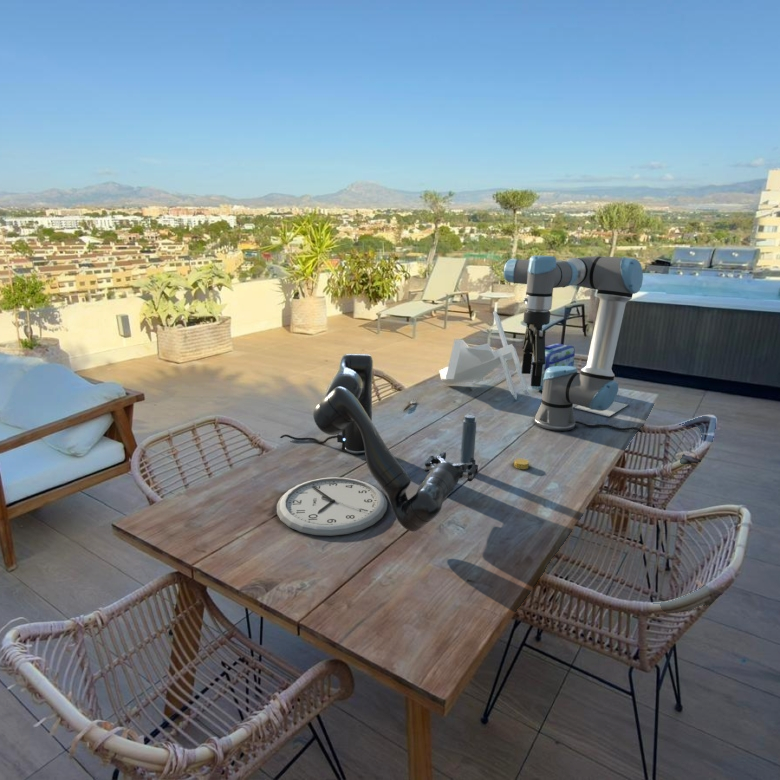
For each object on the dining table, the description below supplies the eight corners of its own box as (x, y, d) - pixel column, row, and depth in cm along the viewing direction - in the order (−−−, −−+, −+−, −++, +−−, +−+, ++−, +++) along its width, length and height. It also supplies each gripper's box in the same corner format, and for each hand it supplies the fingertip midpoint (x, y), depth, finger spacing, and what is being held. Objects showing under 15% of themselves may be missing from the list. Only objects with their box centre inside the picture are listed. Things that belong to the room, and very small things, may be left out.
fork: (400, 411, 216) (400, 406, 215) (412, 399, 230) (412, 395, 230) (406, 412, 215) (406, 407, 215) (418, 400, 230) (418, 396, 229)
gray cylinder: (467, 467, 167) (470, 413, 161) (475, 472, 164) (479, 417, 158) (457, 470, 165) (460, 415, 159) (465, 475, 162) (469, 419, 156)
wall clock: (392, 527, 129) (268, 531, 127) (391, 533, 130) (269, 537, 127) (383, 473, 158) (282, 475, 155) (383, 478, 158) (282, 480, 156)
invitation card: (608, 416, 214) (573, 407, 224) (608, 416, 214) (573, 408, 224) (628, 404, 229) (594, 396, 238) (628, 405, 229) (594, 397, 238)
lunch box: (547, 395, 239) (552, 351, 233) (526, 390, 247) (530, 347, 240) (574, 384, 257) (579, 343, 251) (554, 380, 264) (558, 339, 258)
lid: (511, 466, 168) (511, 461, 167) (517, 462, 171) (518, 457, 171) (524, 470, 165) (525, 465, 165) (530, 465, 169) (531, 461, 168)
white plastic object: (461, 429, 252) (437, 405, 227) (444, 352, 274) (420, 323, 250) (535, 404, 240) (518, 377, 215) (510, 326, 262) (492, 293, 237)
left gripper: (467, 474, 135) (483, 450, 149) (416, 463, 140) (436, 441, 155) (465, 499, 137) (481, 474, 151) (415, 488, 143) (435, 464, 157)
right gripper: (516, 303, 165) (510, 368, 172) (534, 316, 142) (526, 391, 148) (540, 304, 165) (533, 369, 171) (562, 317, 141) (553, 392, 148)
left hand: (458, 457), depth 153 cm, fingers open, 8 cm apart
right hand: (530, 379), depth 160 cm, fingers open, 13 cm apart
